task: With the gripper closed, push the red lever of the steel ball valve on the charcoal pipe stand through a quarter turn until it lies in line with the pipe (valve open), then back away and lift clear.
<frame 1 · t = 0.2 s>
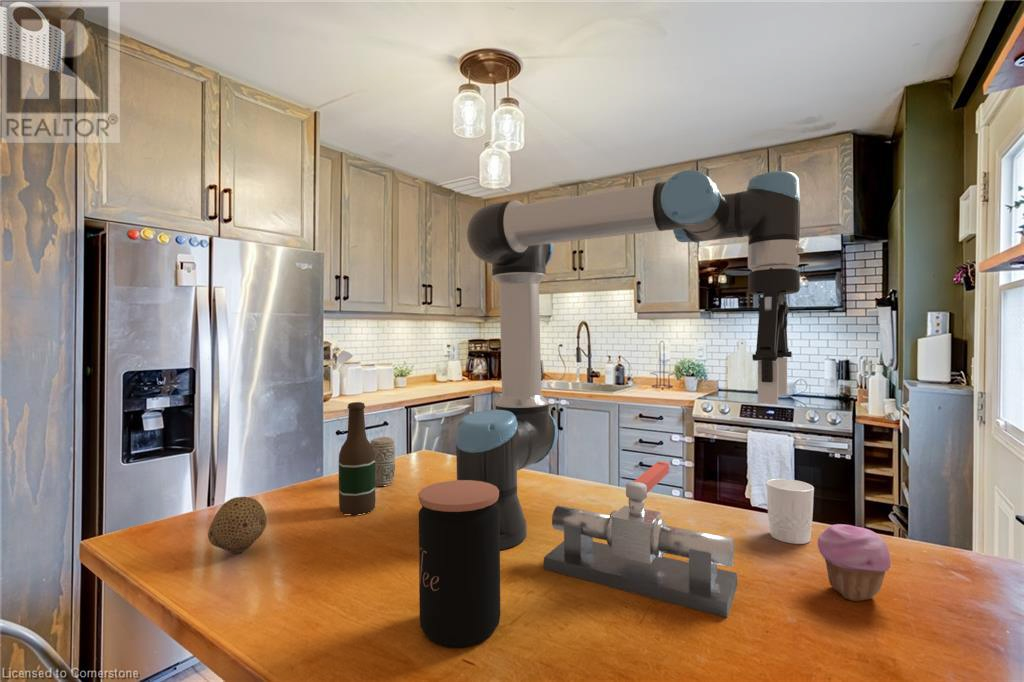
hand: (773, 398, 82), 28 cm above the countertop, fingers open, 13 cm apart
white cup: (789, 538, 94), on the countertop
natural sponge: (239, 554, 90), on the countertop
coffee jar: (460, 628, 66), on the countertop
cupcake: (853, 595, 73), on the countertop
carving: (382, 485, 131), on the countertop
valve lever: (650, 478, 86), point 14 cm above the countertop, hinge at 90.0°
valve stand: (636, 577, 79), on the countertop
beer bottle: (357, 511, 111), on the countertop
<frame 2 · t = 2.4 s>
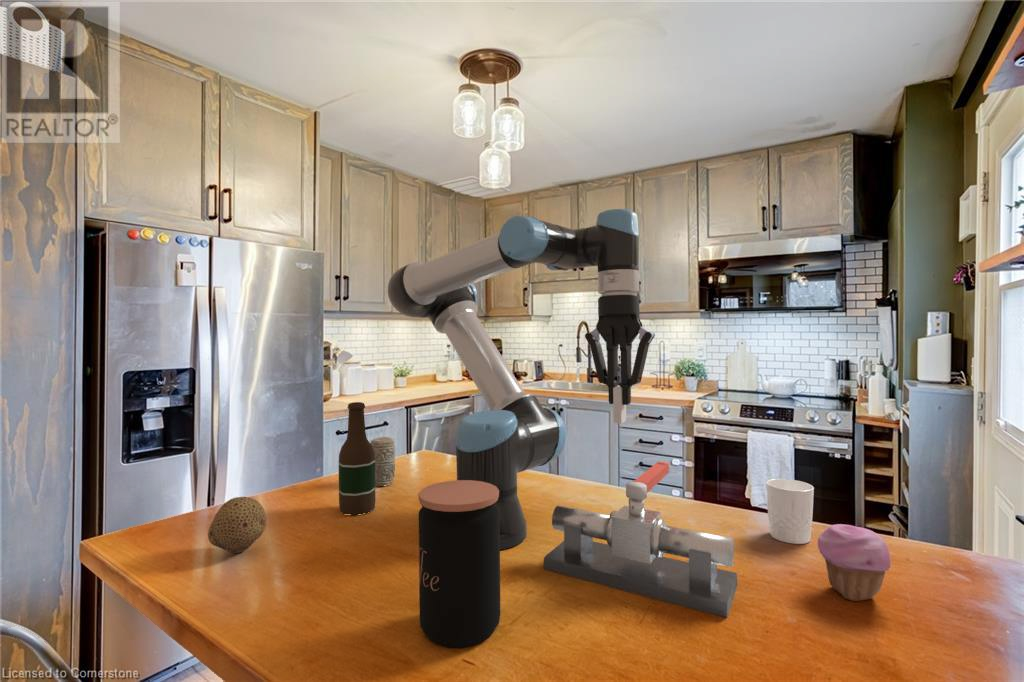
hand: (619, 421, 93), 22 cm above the countertop, fingers closed
nothing on the countertop moved.
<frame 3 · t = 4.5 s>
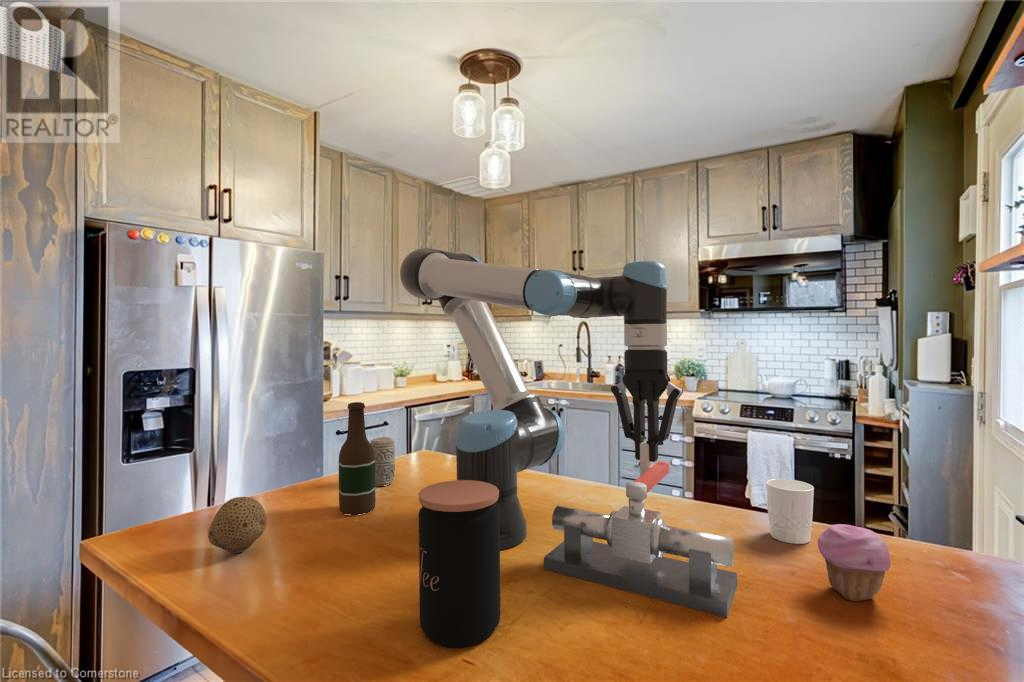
hand: (646, 478, 90), 13 cm above the countertop, fingers closed
valve lever: (650, 478, 86), point 14 cm above the countertop, hinge at 90.0°, touching gripper
everything else where it was.
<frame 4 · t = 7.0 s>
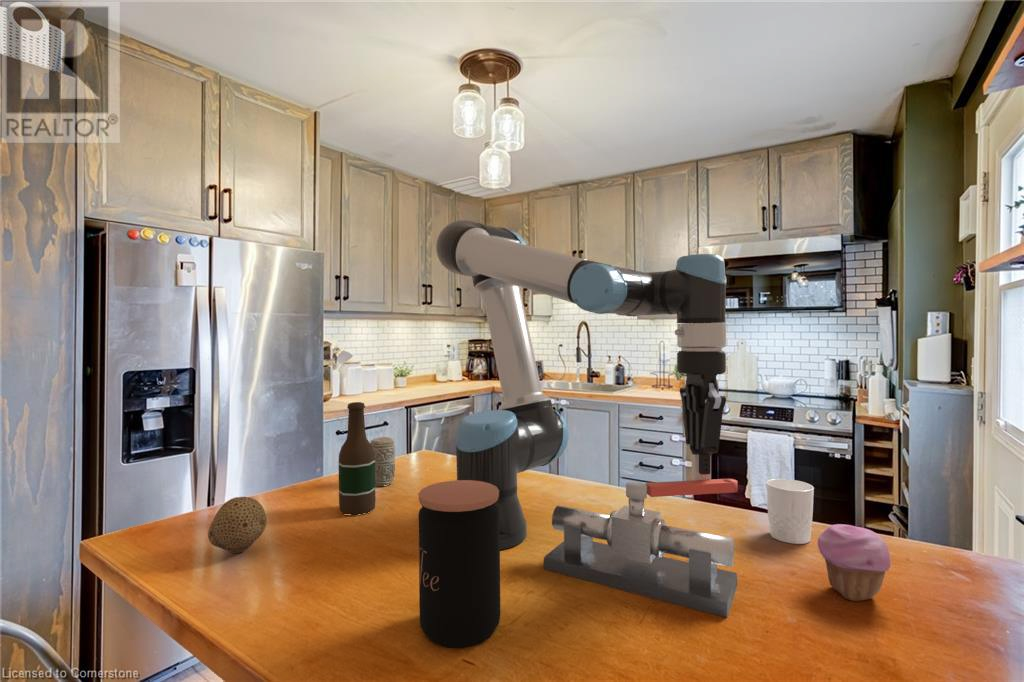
hand: (701, 491, 83), 12 cm above the countertop, fingers closed
valve lever: (682, 488, 80), point 14 cm above the countertop, hinge at 39.4°, touching gripper
everything else where it was.
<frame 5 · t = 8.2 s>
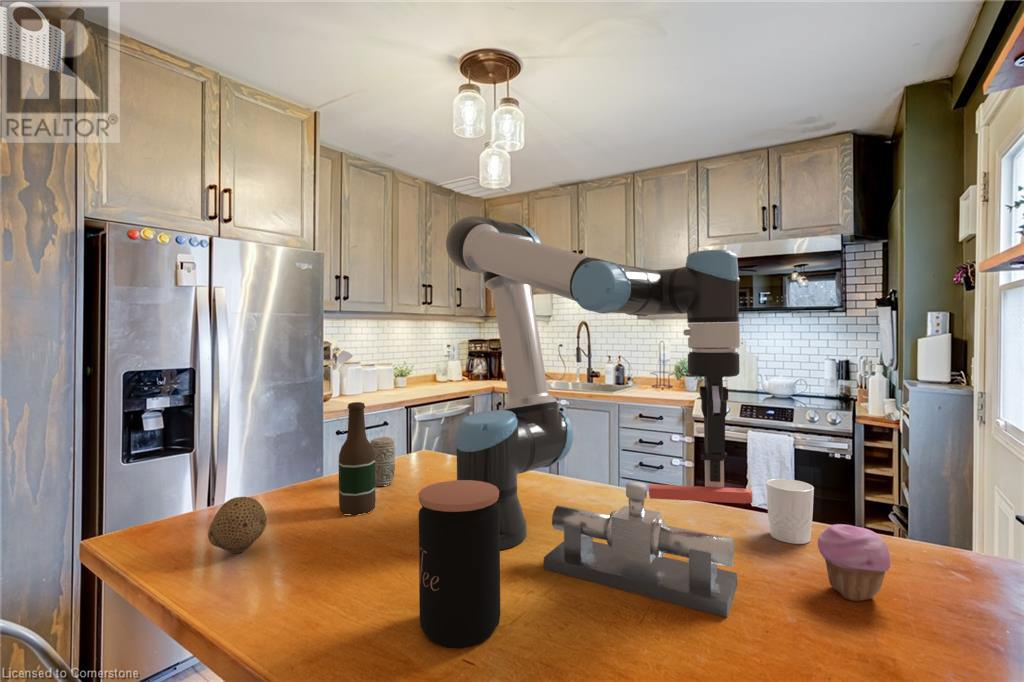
hand: (714, 499, 79), 12 cm above the countertop, fingers closed
valve lever: (687, 493, 78), point 14 cm above the countertop, hinge at 20.3°, touching gripper
everything else where it was.
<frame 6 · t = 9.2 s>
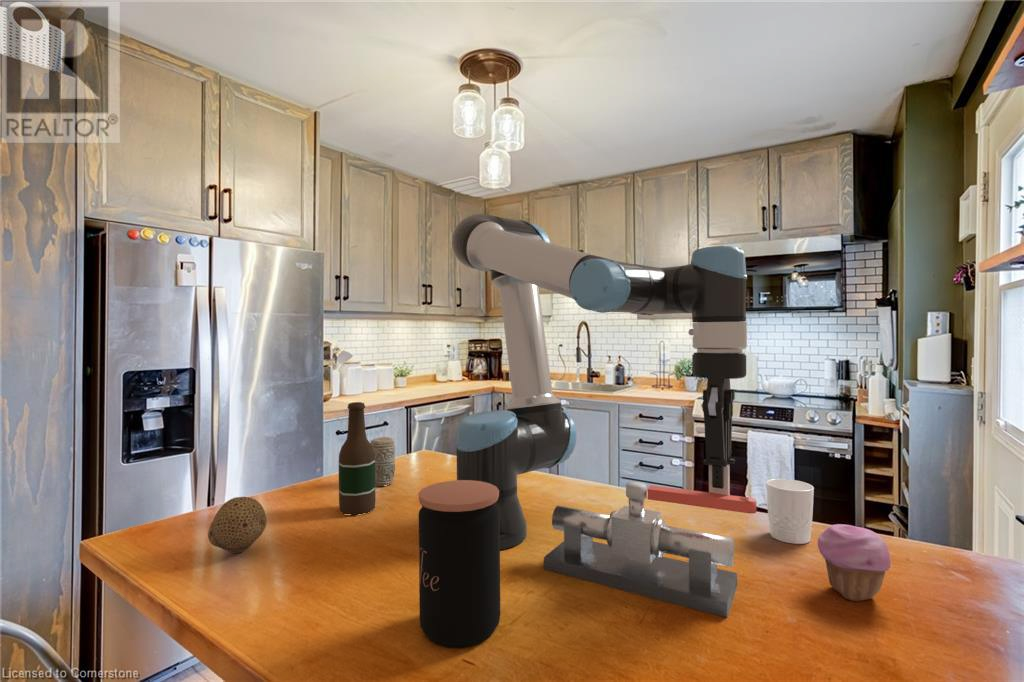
hand: (719, 507, 75), 12 cm above the countertop, fingers closed
valve lever: (687, 497, 76), point 14 cm above the countertop, hinge at 4.3°, touching gripper
everything else where it was.
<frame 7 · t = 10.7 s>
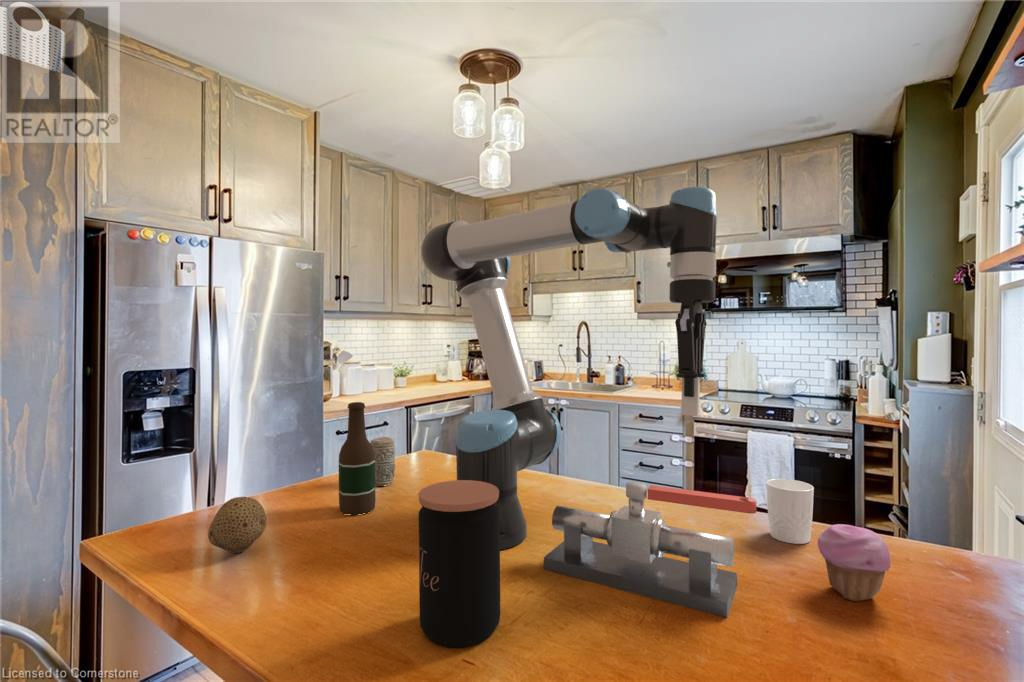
hand: (690, 414, 87), 24 cm above the countertop, fingers closed
valve lever: (687, 497, 76), point 14 cm above the countertop, hinge at 4.3°
everything else where it was.
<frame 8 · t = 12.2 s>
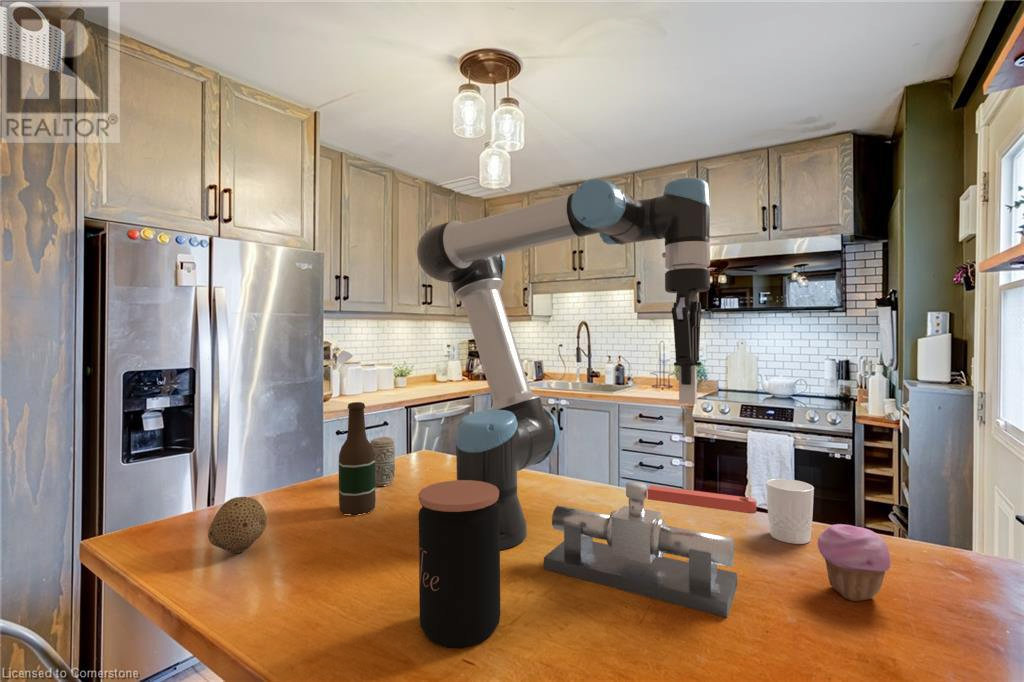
hand: (687, 402, 88), 26 cm above the countertop, fingers closed
nothing on the countertop moved.
at the end: valve lever at +4° (first picture: +90°); coffee jar moved 0.2 cm from its start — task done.
